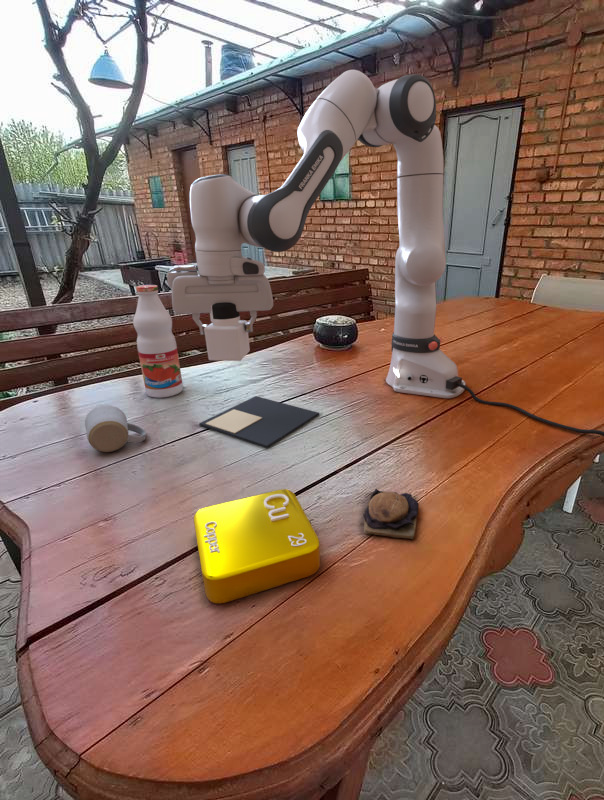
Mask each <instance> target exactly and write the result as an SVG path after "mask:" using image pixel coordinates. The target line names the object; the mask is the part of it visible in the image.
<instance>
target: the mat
mask: <svg viewBox="0 0 604 800" xmlns="http://www.w3.org/2000/svg"><path fill="white" fill-rule="evenodd" d="M318 416H320V412H319V411H318V412H317V411H314V410H311V409H307V408H303V407H298V406H295V405H291V404H288V403H283V402H280V401H275V400H272V399H268V398H265V397H261V396H257V395H255V396H253V397H251V398H249V399H247V400H245V401H243V402H241V403H238V404H237V405H234V406H233V407H230V408H228V409H226V410H224V411H222V412H220V413H217V414H216V415H214V416H212V417H210V418H207V419H205V420H203V421H201V422H199V424H198V425H199V426H200V427H203V428H204V429H205V428H206V429H209V430H212V431H215V432H218V433H221V434H223V435H226V436H229V437H233V438H236V439H238V440H242V441H245V442H248V443H251V444H254V445H257V446H259V447H262V448H266V449H269V448H270V447H272V446H273V445H275V444H276V443H278V442H279V441H281V440H283V439H284V438H285V437H287V436H288V435H290V434H291V433H293V432H295V431H296V430H298V429H300V428H302V427H303V426H304V425H306V424H308V423H309V422H310V421H312V420H314V419H315V418H317V417H318Z"/></svg>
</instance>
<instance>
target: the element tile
mask: <svg viewBox="0 0 604 800" xmlns="http://www.w3.org/2000/svg"><path fill="white" fill-rule="evenodd" d="M193 524H194V531H195V538H196V543H197V550H198V557H199V563H200V571H201V575H202V582H203V586H204V592H205V597H206V599H208V600H209V601H210V603H213V604H226V603H230V602H233V601H236V600H238V599H242V598H245V597H248V596H251V595H254V594H257V593H261V592H263V591H267V590H270V589H273V588H276V587H279V586H283V585H286V584H289V583H292V582H294V581H298V580H302V579H304V578H308V577H311V576H312V575H315V573H317V572H318V571H319V568H320V566H321V552H320V550H321V549H320V547H321V545H320V538H319V537H318V535H317V532H316V531H315V530H314V527H313V526H312V524H311V522H310V520H309V518H308V516H307V514H306V513H305V511H304V508H303V507H302V505H301V503H300V502H299V500H298V497H297V495H296V494H295V493H294V492H293V491H291V490H290V489H287V488H283V489H282V488H281V489H276V490H272V491H267V492H264V493H259V494H254V495H250V496H247V497H242V498H238V499H234V500H230V501H225V502H220V503H216V504H212V505H208V506H205V507H201V508H200V509H198V510H197V511H196V512H195V513H194V515H193Z"/></svg>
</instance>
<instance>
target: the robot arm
mask: <svg viewBox="0 0 604 800" xmlns="http://www.w3.org/2000/svg"><path fill="white" fill-rule="evenodd" d="M436 121H437V99H436V94H435V91H434V88H433V86H432V84H431V82H430V81H429V80H428V78H427V77H426V76H424V75H422V74H418V73H417V74H416V73H412V74H404V75H402V76H400V77H399V78H396V79H393V80H391V81H388V82H386V83H384V84H382V85H380V86H379V87H378V88H376V87H375V86H374V84H373V82H372V80H371V79H370V78H369V77H368V76H367V75H366V74H365V73H364V72H362V71H360V70H357V69H349V70H346V71H344V72H342V73H341V74H340V75H339V76H337V77H336V78H335V79H334V80H332V82H330V83H329V85H327V86H326V87H325V88H324V90H322V92H321V93H320V94H319V95H318V96H317V97H316V99H315V100H314V101H313V102H312V104H311V105H310V106H309V108H307V110H306V111H305V114H304V116H302V119H301V121H300V123H299V125H298V127H297V140H298V144H299V147H300V149H301V151H302V154H303V155H302V157H301V158H300V159H299V161H298V162H297V164H296V165H295V167H294V168H293V170H292V171H291V172H290V174H289V175H288V177H287V178H286V180H285V181H284V183H283V184H282V185H281V186H280V187H279V188H277V189H276V190H273V191H272V192H269V193H266V194H260V195H259V194H257V193H256V192H253V191H251V190H249V189H247V188H246V187H244V186H242V185H241V184H240V183H238V182H237V181H236V180H234V179H233V177H232V176H230V175H229V174H225V173H220V174H212V175H207V176H202V177H199V178H196V179H195V180H194V181H193V182H192V183H191V184H190V190H189V208H190V220H191V227H192V229H193V232H194V235H195V244H194V250H195V259H196V265H186V266H185V265H184V266H182V265H174V266H173V268H170V269H169V270H168V271H167V273H166V279H167V284H168V287H169V288H170V289H171V305H172V306H171V307H172V310H173V312H174V313H176V314H177V315H190V314H191V318H192V320H193V321H194V323H195V324H196V325H197V327H199V334H200V335H205V332H204V328H205V327H207V326H208V324H207V323H206V324H204V323H202V320H200V317H201V314H210V313H211V306H212V305H213V304H215V303H223V302H230V303H233V304H235V305H236V310H237V312H239V313H240V312H249V316H250V319H249V321H247V323H245V325H246V332H248V333H253V332H254V328H253V325H254V323H255V321H256V319H257V317H258V312H259V311H261V312H263V311H271V310H272V308H273V307H274V298H273V291H272V287H271V283H270V281H269V279H268V277H267V276H266V275H265V271H266V266H265V264H264V263H263V262H261V261H259V260H256V259H254V258H251V257H246V256H243V255H242V246H243V244H247V245H249V246H253V247H257V248H263V249H265V250H268V251H271V252H274V253H282V252H286V251H289V250H290V249H292V248H293V247H294V246H295V245H296V244H297V243H298V242H299V241H300V239H301V237H302V235H303V231H304V228H305V225H306V221H307V218H308V215H309V213H310V211H311V209H312V207H313V205H314V204H315V203H316V201H317V199H318V197H319V196H320V195H321V194H322V193H323V190H325V187H326V186H327V185H328V183H329V181H330V180H331V178H332V176H333V175H334V174H335V172H336V170H337V169H338V167H339V165H340V163H341V162H342V161H343V159H344V158H345V157H346V156H347V154H348V153H349V152H350V150H351V149H352V148H353V147H354V145H355V144H356V142H357V141H359V143H361V144H363V145H364V146H366V147H369V148H380V147H382V146H387V145H388V146H389V145H393V148H394V150H395V152H396V157H397V165H396V211H397V213H396V214H397V223H398V224H397V225H398V237H399V238H398V239H399V246H398V248H397V249H396V253H395V258H394V259H395V260H394V261H395V263H394V295H395V296H394V299H395V300H394V301H395V302H394V303H395V304H394V307H395V308H394V321H393V323H394V325H393V333H391V334H392V335H391V359H390V364H389V369H388V373H387V375H386V377H385V382H386V384H387V385H389V386H390V387H391V388H392V389H393V391H394V392H396V393H402V394H411V395H418V396H426V397H433V398H441V399H453V398H456V397H458V396H460V395H461V394H462V393H464V391H466V392H468V393H469V394H470V396H471V397H472V399H473V400H474V401H476V402H477V403H480V404H484V405H489V406H497V407H504V408H508V409H509V408H510V409H513V410H515V411H517V412H519V413H520V414H523V415H525V416H527V417H529V418H531V419H533V420H536V421H538V422H540V423H543V424H545V425H549V426H552V427H555V428H559V429H562V430H566V431H570V432H573V433H577V434H588V435H590V434H591V435H599V436H602V437H604V431H603V430H600V429H583V428H582V429H581V428H577V427H573V426H569V425H566V424H565V425H564V424H562V423H559V422H555V421H552V420H548V419H546V418H543V417H540V416H538V415H535V414H533V413H532V412H529V411H527V410H525V409H523V408H522V407H518V406H516V405H514V404H511V403H508V402H507V403H506V402H500V401H488V400H484V399H481V398H479V397H478V396H477V395H476V394H475V392H474V391H473V390H472V389H471V388H470V387H468V386H467V385H466V382H465V380H463V377H461V376H459V369H458V366H457V363H456V362H454V361H453V360H452V359H451V358H450V357H449V356H447V354H445V353H444V351H443V350H441V349H440V348H441V343H442V342H443V337H440V338H439V337H438V336H437V335H435V329H436V317H437V316H436V315H437V296H436V295H437V293H436V282H437V281H438V280H439V279H441V277H442V276H443V274H444V273H445V270H446V265H447V259H446V241H445V238H446V237H445V225H444V215H443V213H444V211H443V203H444V202H443V201H444V173H445V172H444V165H445V164H444V148H443V141H442V134H441V131H440V129H439V127H438V126H437V125H436Z"/></svg>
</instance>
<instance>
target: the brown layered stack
mask: <svg viewBox="0 0 604 800" xmlns="http://www.w3.org/2000/svg"><path fill="white" fill-rule="evenodd" d="M418 515H419V502H418V500H417V499H415V496H412V494H411V493H408V492H404V493H401V494H399V493H398V492H395V491H394V492H392V491H382V490H379V489H378V488H375V489H374V491H373V492H372V493H371V494H370V496H369V500H368V502H367V506H366V508H365V510H364V513H363V514H362V516H363V525H364V526H363V527H364V528H363V532H364V534H366V535H376V536H386V537H391V538H399V539H400V538H401V539H402V538H403V539H409V540H414V538H415V534H416V530H417V517H418Z"/></svg>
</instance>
